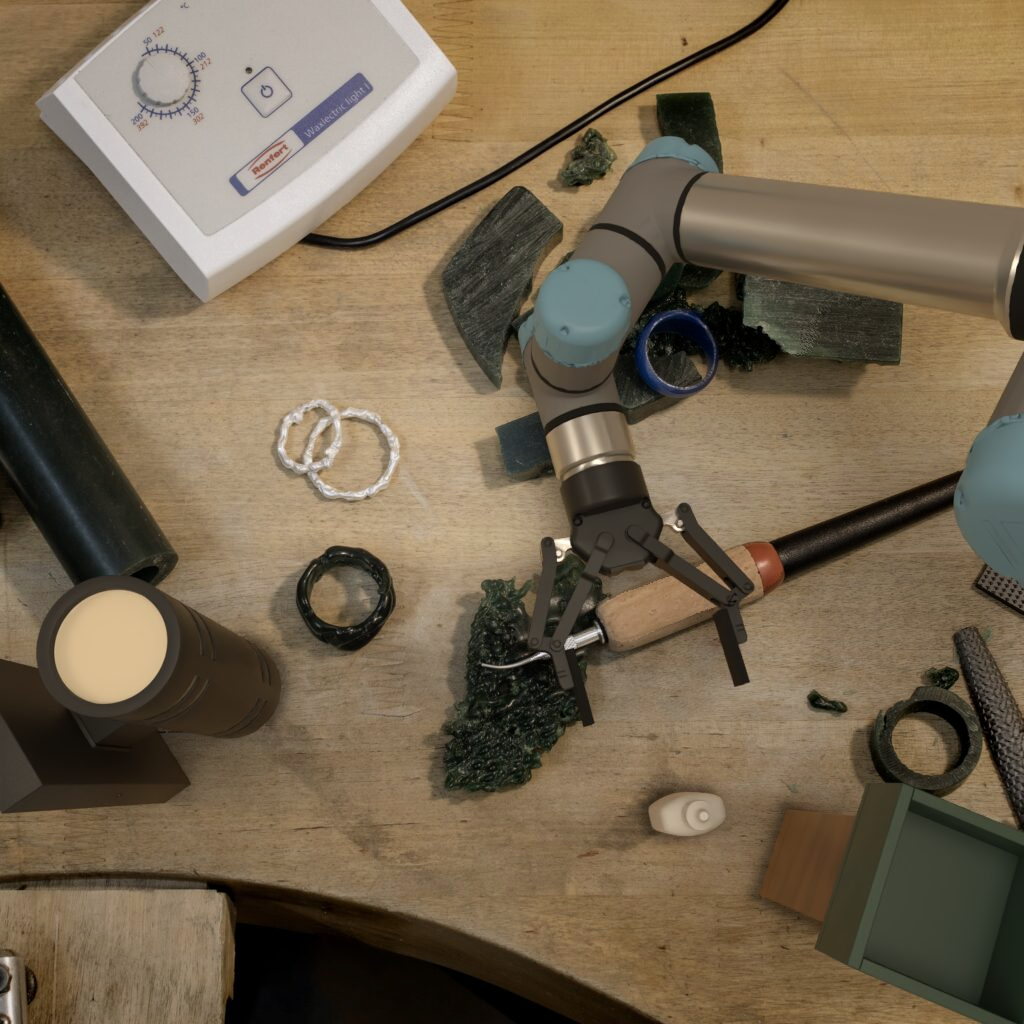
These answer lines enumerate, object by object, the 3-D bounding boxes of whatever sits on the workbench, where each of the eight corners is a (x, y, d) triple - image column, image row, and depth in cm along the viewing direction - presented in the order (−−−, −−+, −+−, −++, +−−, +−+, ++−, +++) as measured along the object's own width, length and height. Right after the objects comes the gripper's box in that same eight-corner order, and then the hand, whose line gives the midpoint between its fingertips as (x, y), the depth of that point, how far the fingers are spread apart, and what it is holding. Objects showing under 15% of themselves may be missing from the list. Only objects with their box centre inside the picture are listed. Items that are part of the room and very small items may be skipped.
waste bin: (1027, 849, 72) (1081, 855, 65) (980, 1020, 69) (1032, 1045, 63) (866, 782, 73) (903, 782, 66) (813, 948, 70) (847, 965, 64)
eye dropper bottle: (702, 845, 96) (730, 854, 84) (642, 825, 96) (663, 831, 84) (714, 798, 97) (744, 800, 85) (655, 778, 97) (677, 778, 85)
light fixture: (304, 707, 98) (213, 671, 66) (166, 804, 96) (2, 815, 64) (244, 616, 100) (128, 538, 68) (107, 708, 98) (-80, 673, 66)
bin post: (868, 843, 96) (995, 864, 72) (841, 930, 94) (962, 981, 70) (785, 808, 96) (883, 817, 72) (757, 894, 95) (847, 932, 70)
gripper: (721, 452, 99) (792, 672, 94) (464, 516, 97) (522, 744, 92) (740, 426, 92) (818, 663, 87) (462, 494, 90) (525, 741, 85)
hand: (666, 705), depth 89 cm, fingers open, 13 cm apart
